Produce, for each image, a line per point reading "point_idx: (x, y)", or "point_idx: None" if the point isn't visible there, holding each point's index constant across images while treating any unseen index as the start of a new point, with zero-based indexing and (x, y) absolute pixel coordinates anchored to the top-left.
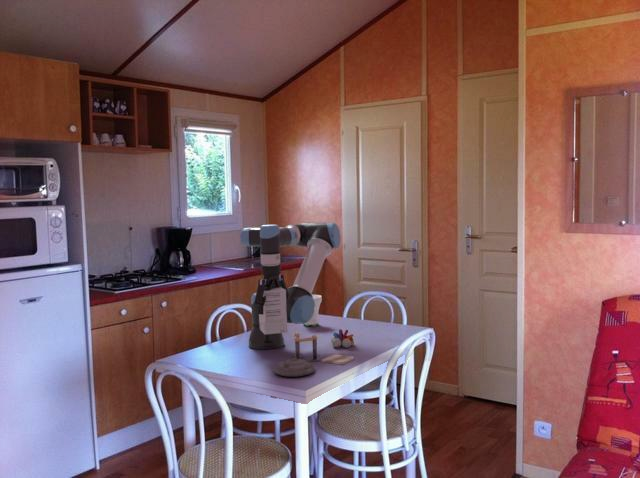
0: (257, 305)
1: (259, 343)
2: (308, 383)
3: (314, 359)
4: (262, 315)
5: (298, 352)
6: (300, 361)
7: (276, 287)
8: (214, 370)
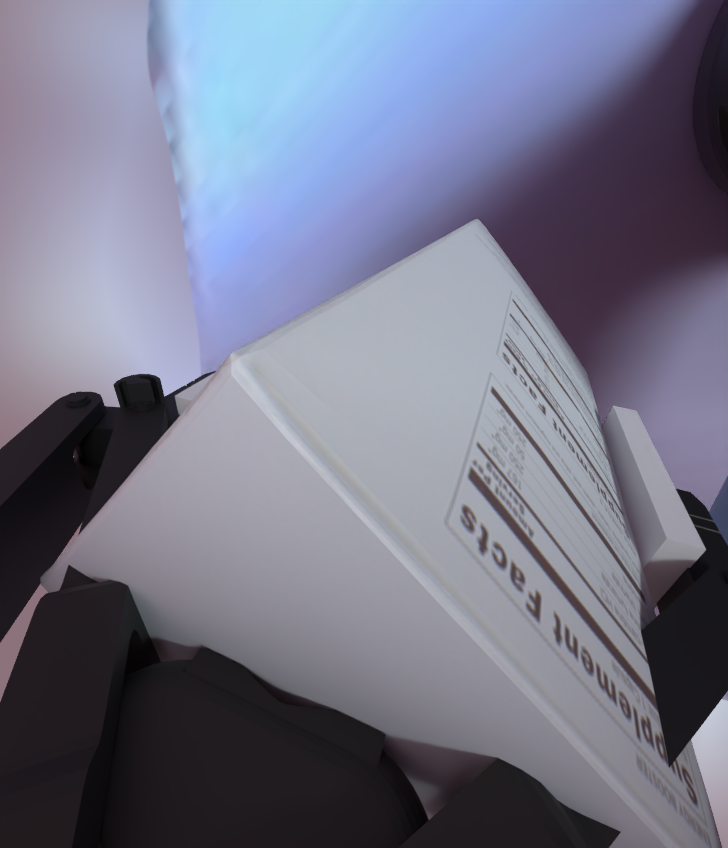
0: (149, 394)
1: (720, 60)
2: None
3: None
4: None
5: None
6: None
7: (434, 796)
8: (193, 109)
